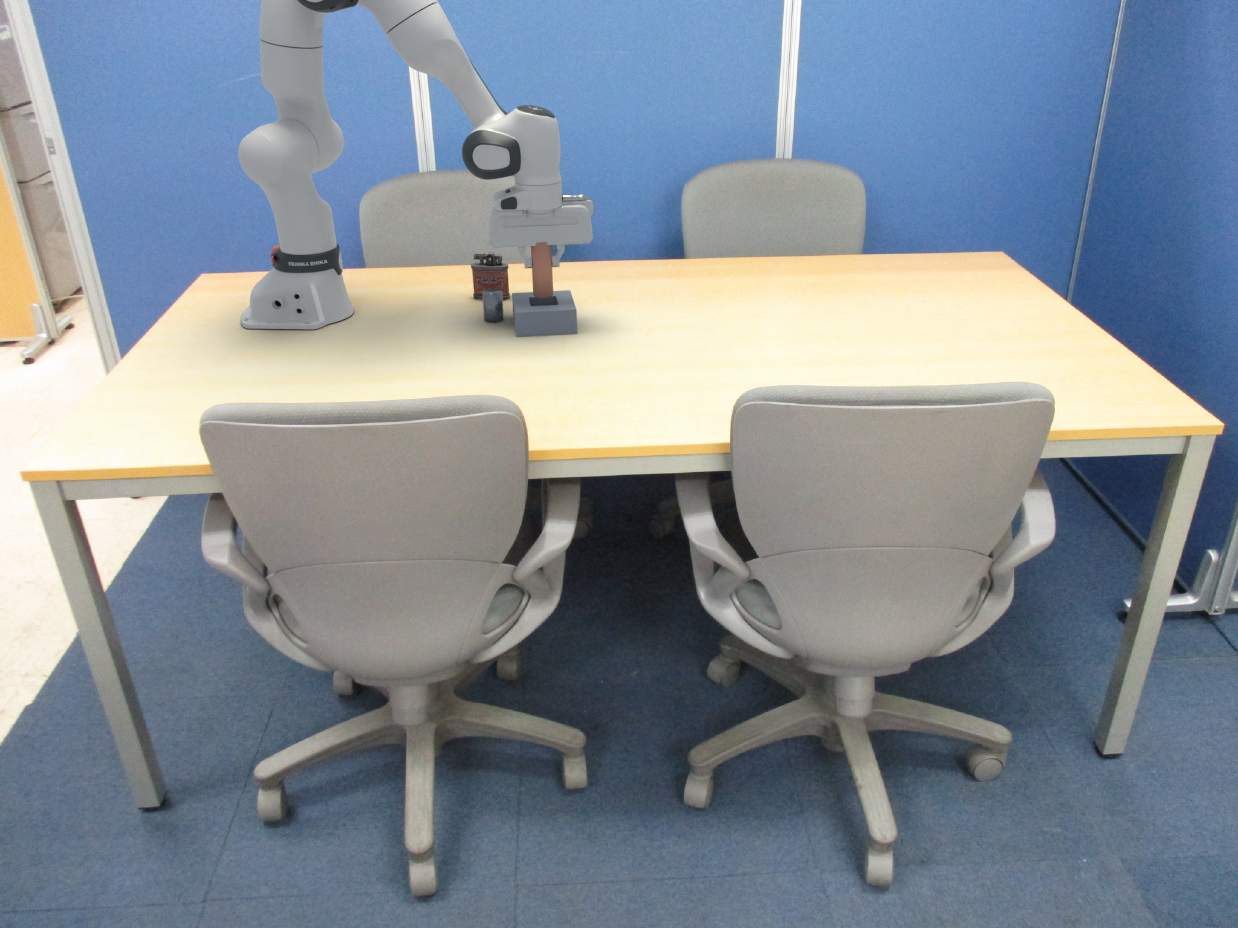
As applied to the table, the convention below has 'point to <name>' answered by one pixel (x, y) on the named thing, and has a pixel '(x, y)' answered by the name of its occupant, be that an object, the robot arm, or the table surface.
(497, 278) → the lighter
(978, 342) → the table surface
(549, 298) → the bore block
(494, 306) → the short pin
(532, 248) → the long pin
